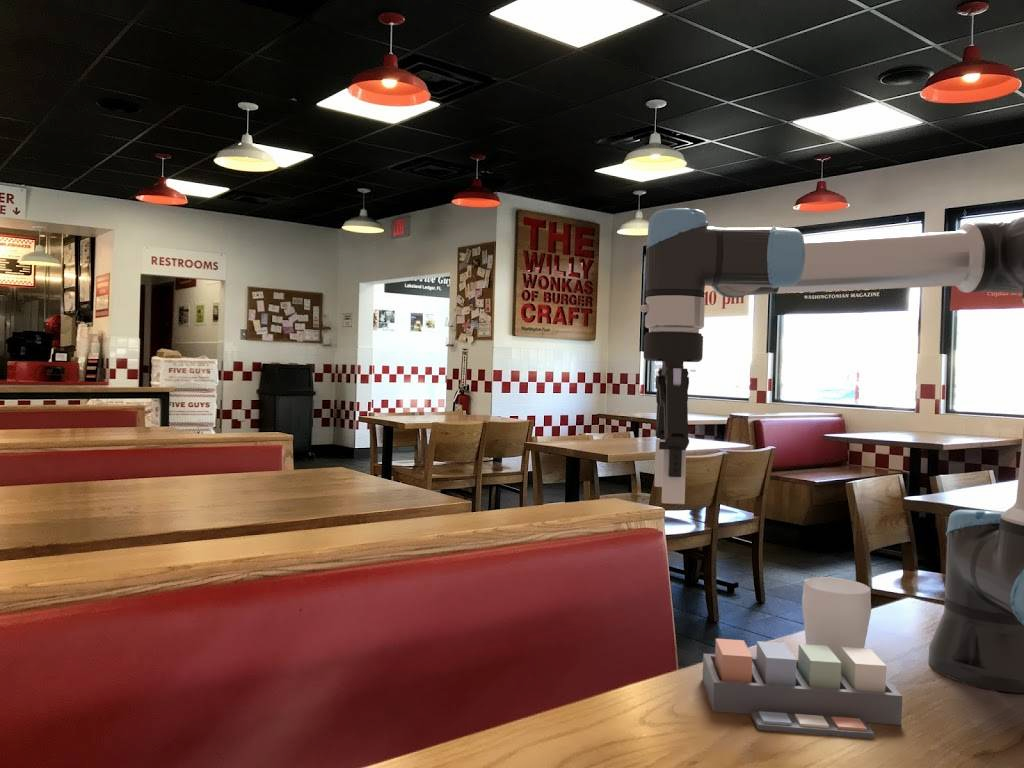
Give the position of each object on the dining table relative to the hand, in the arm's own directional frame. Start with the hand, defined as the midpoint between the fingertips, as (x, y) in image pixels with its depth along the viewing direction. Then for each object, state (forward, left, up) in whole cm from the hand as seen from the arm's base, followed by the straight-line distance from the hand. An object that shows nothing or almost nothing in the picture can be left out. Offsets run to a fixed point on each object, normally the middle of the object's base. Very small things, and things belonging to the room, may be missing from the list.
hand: (668, 494), depth 104 cm
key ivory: (-25, +1, -22) cm, 33 cm away
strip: (-17, +9, -25) cm, 32 cm away
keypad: (-17, +1, -25) cm, 30 cm away
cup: (-25, -11, -26) cm, 37 cm away
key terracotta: (-9, +1, -23) cm, 24 cm away
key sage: (-19, +1, -22) cm, 30 cm away
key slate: (-14, +1, -23) cm, 27 cm away
